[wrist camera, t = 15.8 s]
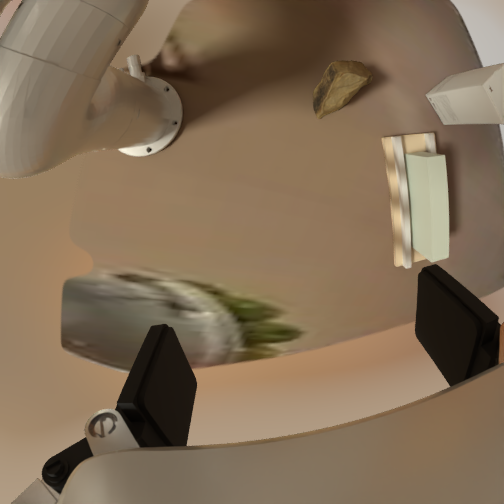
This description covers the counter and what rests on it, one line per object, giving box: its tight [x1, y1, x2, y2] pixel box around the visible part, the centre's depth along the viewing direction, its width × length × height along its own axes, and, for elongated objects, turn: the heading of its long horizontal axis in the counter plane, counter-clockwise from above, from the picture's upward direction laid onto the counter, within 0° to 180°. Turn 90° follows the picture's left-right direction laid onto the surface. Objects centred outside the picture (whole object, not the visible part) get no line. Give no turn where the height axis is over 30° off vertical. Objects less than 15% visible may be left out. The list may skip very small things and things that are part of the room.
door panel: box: [404, 152, 449, 262], centre depth 41 cm, size 16×4×7 cm, turn 13°
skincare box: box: [426, 63, 504, 125], centre depth 31 cm, size 8×7×16 cm
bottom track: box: [382, 133, 437, 269], centre depth 44 cm, size 22×10×2 cm, turn 13°
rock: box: [313, 60, 373, 119], centre depth 36 cm, size 11×9×10 cm
